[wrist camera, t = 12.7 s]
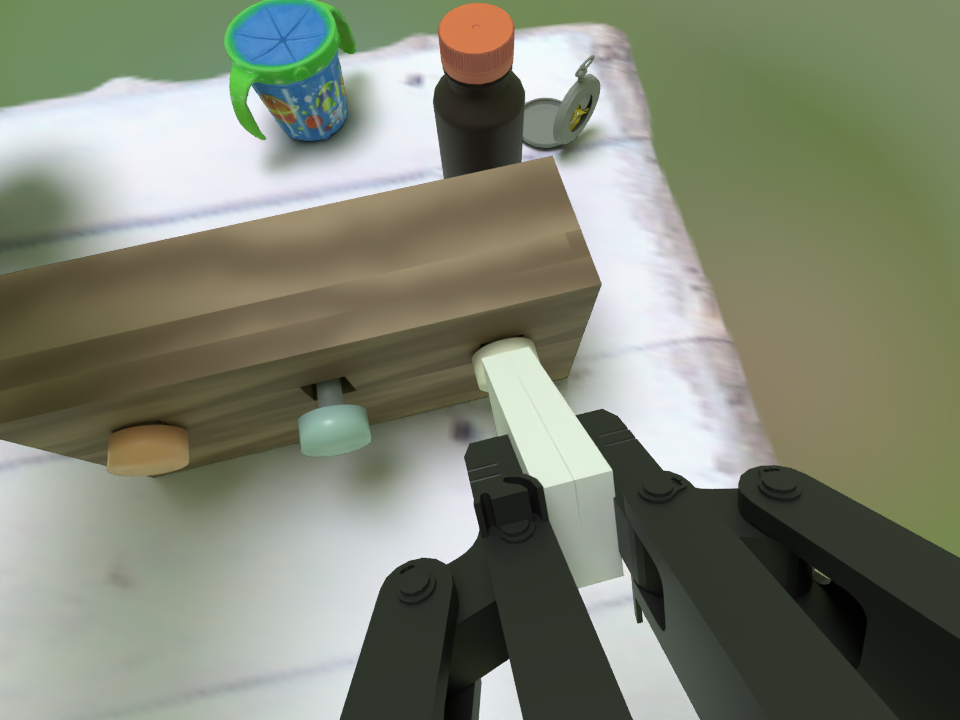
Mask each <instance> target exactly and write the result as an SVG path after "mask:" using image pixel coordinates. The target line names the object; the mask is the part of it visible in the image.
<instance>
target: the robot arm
mask: <svg viewBox="0 0 960 720" xmlns="http://www.w3.org/2000/svg"><path fill="white" fill-rule="evenodd" d="M481 359H482V364H483V369H484V374H485V378H486V383H487V388H488V393H489V397H490V402H491V407H492V412H493V416H494V421H495V426H496V431H497V435H498V437H494V438H490V439H486V440H482V441H478V442H474V443H470V444H469V447H468V449H467V452H466V454H465V456H464V458H465V462H466V467H467V471H468V476H469V480H470V485H471V489H472V493H473V498H474V508H475V512H476V516H477V520H478V524H479V534H478V537H477V539H476V541H475V543H474V544H473V546H472V547H471V548H470V549H469V550H468V551H467V552H466V553H465V554H463V555H462V556H460V557H459V558H457V559H456V560H454V561H452V562H450V563H449V564H447V565H446V564H445V563H443V562H441V561H439V560H437V559H431V558H420V559H416V560H411V561H408V562H406V563H405V564H403V565H401V566H399V567H397V568H396V569H395V570H394V571H393V572H392V573H391V574H390V575H389V576H388V577H387V578H386V579H385V581H384V583H383V585H382V587H381V589H380V591H379V595H378V598H377V601H376V604H375V607H374V611H373V614H372V617H371V620H370V624H369V627H368V630H367V633H366V636H365V640H364V643H363V646H362V649H361V653H360V656H359V659H358V662H357V665H356V669H355V672H354V675H353V678H352V682H351V685H350V688H349V691H348V694H347V698H346V701H345V704H344V707H343V711H342V714H341V717H340V720H479V707H480V694H481V677H483V676H484V675H486V674H487V673H489V672H490V671H492V670H493V669H495V668H496V667H498V666H499V665H501V664H502V663H504V662H505V661H507V660H508V659H510V663H511V668H512V672H513V677H514V681H515V685H516V690H517V694H518V699H519V703H520V707H521V712H522V716H523V720H633V719H632V717H631V714H630V712H629V710H628V707H627V705H626V702H625V700H624V698H623V695H622V693H621V690H620V688H619V686H618V683H617V681H616V679H615V676H614V674H613V671H612V669H611V667H610V664H609V662H608V659H607V657H606V655H605V652H604V650H603V648H602V645H601V643H600V640H599V638H598V636H597V633H596V631H595V628H594V626H593V624H592V621H591V619H590V617H589V614H588V612H587V609H586V607H585V605H584V602H583V600H582V597H581V595H580V593H579V590H578V588H581V587H584V586H588V585H592V584H595V583H599V582H602V581H606V580H610V579H613V578H617V577H621V576H624V575H623V565H622V558H623V560H624V562H625V564H626V566H627V567H628V569H629V571H630V573H631V579H632V589H633V600H634V610H635V616H636V620H637V623H641V622H643V619H642V611H643V613H644V615H645V617H646V618H647V620H648V622H649V624H650V626H651V628H652V630H653V632H654V634H655V635H656V637H657V639H658V641H659V643H660V645H661V647H662V649H663V650H664V652H665V654H666V656H667V658H668V660H669V662H670V664H671V665H672V667H673V669H674V671H675V673H676V675H677V677H678V679H679V681H680V682H681V684H682V686H683V688H684V690H685V692H686V694H687V696H688V697H689V699H690V701H691V703H692V705H693V707H694V709H695V711H696V712H697V714H698V716H699V718H700V720H960V558H959V557H957V556H956V555H953V554H952V553H950V552H948V551H946V550H944V549H942V548H941V547H939V546H937V545H935V544H933V543H932V542H930V541H928V540H926V539H924V538H922V537H920V536H919V535H916V534H915V533H913V532H911V531H909V530H908V529H906V528H904V527H902V526H900V525H898V524H897V523H895V522H893V521H891V520H889V519H887V518H886V517H884V516H882V515H880V514H878V513H876V512H875V511H873V510H871V509H869V508H867V507H865V506H864V505H862V504H860V503H858V502H856V501H854V500H852V499H851V498H848V497H847V496H845V495H843V494H841V493H839V492H838V491H836V490H834V489H832V488H830V487H829V486H827V485H825V484H823V483H821V482H819V481H818V480H816V479H814V478H812V477H810V476H808V475H806V474H804V473H802V472H799V471H797V470H794V469H792V468H787V467H782V466H776V465H772V466H759V467H755V468H752V469H749V470H747V471H746V472H745V473H744V474H742V475H741V477H740V480H739V484H738V488H737V489H700V488H695V487H694V486H693V485H692V484H691V483H690V482H689V481H688V480H686V479H685V478H684V477H683V476H681V475H678V474H675V473H673V472H670V471H663V470H662V469H661V467H660V466H659V465H658V464H657V463H656V461H655V460H654V459H653V458H652V457H651V455H650V454H649V453H648V452H647V451H646V449H645V448H644V447H643V446H642V445H641V443H640V442H639V441H638V440H637V439H635V436H634V435H633V434H632V433H631V431H630V430H628V429H627V427H626V425H625V424H624V423H623V422H622V421H621V419H620V418H619V417H618V416H616V415H614V414H612V413H610V412H608V411H606V410H604V409H600V410H596V411H592V412H588V413H584V414H580V415H576V416H575V414H574V413H573V411H572V410H571V408H570V407H569V405H568V404H567V402H566V401H565V399H564V398H563V397H562V395H561V394H560V392H559V391H558V389H557V388H556V386H555V385H554V383H553V382H552V380H551V379H550V377H549V376H548V374H547V373H546V371H545V370H544V368H543V367H542V365H541V364H540V363H539V361H538V360H537V358H536V357H535V355H534V354H533V352H532V351H531V349H530V348H529V347H525V348H521V349H517V350H513V351H509V352H505V353H500V354H496V355H492V356H488V357H484V358H481ZM815 568H816V569H817V570H818V571H820V572H821V573H823V574H824V575H826V576H827V577H828V578H830V579H828V578H825V577H824V576H822V575H820V574H819V573H817V572H816V571H815Z"/></svg>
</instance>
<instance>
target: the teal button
mask: <svg viewBox="0 0 960 720" xmlns="http://www.w3.org/2000/svg"><path fill="white" fill-rule="evenodd" d="M316 388H317V396H318V404H319V408H318V409H315V410H312V411H310V412H307V413H305V414H304V415H302V416H301V417H300V418H299V419H298V428H299V437H300V446H301V453H302V454H303V455H306V456H312V457H325V456H334V455H340V454H345V453H349V452H352V451H355V450H358V449H361V448H363V447H365V446H367V445H368V444H369V443H370V442H371V434H370V428H369V422H368V416H367V410H366V409H365V408H364V407H361V406H358V405H344V402H343V395H342V388H341V381H340V378H336V379H331V380H327V381H323V382H319V383H316Z"/></svg>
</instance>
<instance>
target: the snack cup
mask: <svg viewBox="0 0 960 720" xmlns="http://www.w3.org/2000/svg"><path fill="white" fill-rule="evenodd" d="M224 43H225V48H226V51H227V53H228V56H229V58H230V60H231V61H232V63H233V64H232V65H233V66H232V69H231V74H230V85H229V87H230V96H231V101H232V105H233V108H234V111H235V114H236V116H237V119H238V120H239V122H240V124H241V125H242V126H243V127H244V128H245V129H246V130H247V131H248V132H249V133H251V134H252V135H254V136H255V137H257V138H259V139H261V140H266V138H265V136H264V135H263V134H262V133H261V132H260V130H259V128H258V126H257V123H256V122H255V120H254V118H253V116H252V114H251V112H250V110H249V108H248V106H247V104H246V101H247V96H248V92H249V89H250V87H251V85H252V87H253V88H254V90H255V91H256V93H257V94H258V95H259V97H260V99H261V100H262V101H263V103H264V104H265V105H266V107H267V108H268V109H269V111H270V112H271V114H272V115H273V117H274V118H275V120H276V121H277V123H278V124H279V125H280V126H281V128H282V129H283V130H284V131H285V132H286V133H287V134H288V135H289V136H290V137H291V138H292V139H296V140H297V139H299V140H305V141H316V140H319V139H323V140H325V139H327V138H329V137H330V135H331V134H333V133H335V132H336V131H338V130H339V128H340V127H341V126H342V124H343V122H344V120H345V119H346V118H347V104H346V97H345V90H344V83H343V77H342V71H341V65H340V62H339V58H338V47H339V48H340V49H341V50H343V51H344V52H346V53H348V54H354V53H355V51H356V49H355V41H354V37H353V35H352V32H351V30H350V27H349V25H348V23H347V21H346V19H345V17H344V16H343V15H342V13H341V12H340V11H339V10H338V9H336V8H335V7H333V6H330V5H328V4H326V3H323V2H319V1H316V0H264V1H261V2H258V3H256V4H254V5H252V6H250V7H248V8H247V9H245V10H244V11H242V12H241V13H240V14H239V15H238V16H236V17H235V18H234V19H233V21H232V22H231V24H230V25H229V27H228V29H227V31H226V34H225V39H224Z"/></svg>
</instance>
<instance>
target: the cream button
mask: <svg viewBox="0 0 960 720" xmlns="http://www.w3.org/2000/svg"><path fill="white" fill-rule="evenodd" d="M525 347H529V348H530V349H531V351H532V352H533V354H534V355H535V357H536V358H537V360H538V361H539V358H538V355H537V352H536V348H535V345H534V342H533V341H532V340H530V339H528V338H522V337H516V338H511V337H509V338H505V339H501V340H496V341H492V342H488V345H486V346H484V347H482V348H481V349H479V350H478V351H477V352H476V353H475V354H474V355H473V356H472V363H473V367H474V371H475V375H476V379H477V383H478V386H479V389H480V390H482V391H485V392H488V388H487V383H486V378H485V374H484V369H483V364H482V359H481V358H484V357H488V356H492V355H496V354H500V353H505V352H509V351H513V350H517V349H521V348H525ZM539 363H540V361H539Z"/></svg>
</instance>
